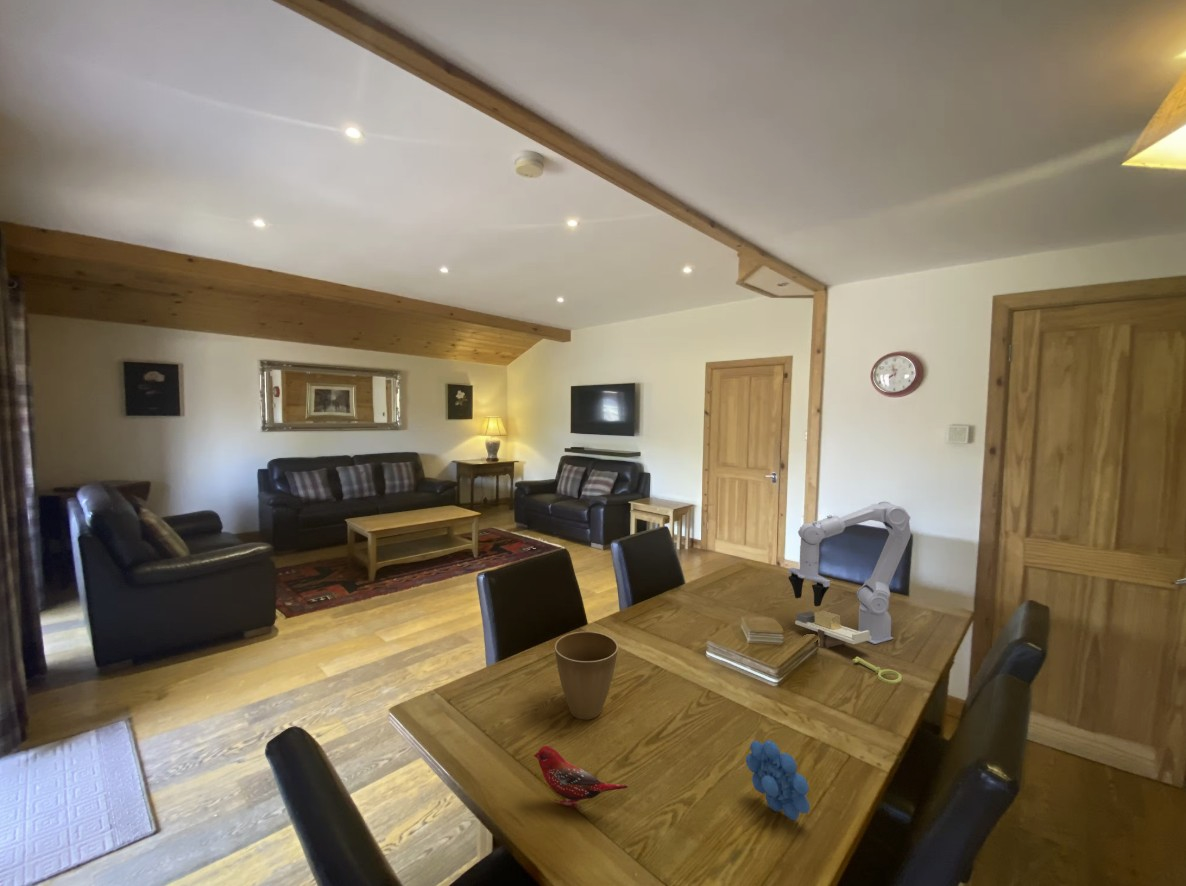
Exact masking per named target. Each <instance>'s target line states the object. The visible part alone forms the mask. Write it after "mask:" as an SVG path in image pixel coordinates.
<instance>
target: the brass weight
mask: <svg viewBox="0 0 1186 886" xmlns="http://www.w3.org/2000/svg"><path fill="white" fill-rule="evenodd" d="M814 614H815V624H816V625H819V626H822V627H825V628H828V629H831V630H837V629H841V625H840V624H841V615H839V614H836V613H833V612H829V611H826V610H819V611H815V612H814Z"/></svg>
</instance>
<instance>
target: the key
mask: <svg viewBox="0 0 1186 886" xmlns="http://www.w3.org/2000/svg"><path fill="white" fill-rule="evenodd" d="M852 662H854V663H860V664H862V665H863V666H865V667H866V668H869V669H870V670H872V671H874V672H875V674H877V676H876V677H877V679H878V680H879V681H881V682H882V683H884V684H885V683H886V684H898V682H899V683H900V681H901V682H902V679H903V677H902V674H901V673H899V672H898V671H896V670H893V669H890V668H889V669H887V668H886V669H881V667H880V666H877V667H876V666H875V665H874V664H871V663H870V662H868V661H866V660H864V659H863V658H861V657H859V656H856V657H855V658H853V659H852ZM884 674H885V675H894V676H896V677H897V678H896V679H886V678H884V677H883V676H884Z"/></svg>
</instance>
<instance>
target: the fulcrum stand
mask: <svg viewBox="0 0 1186 886" xmlns="http://www.w3.org/2000/svg"><path fill="white" fill-rule="evenodd" d="M840 625H841V626H844V627H846V625H844V624H843V623H840ZM817 636H819V638H820V647H821V649H823V648H826V647H827V649H829V648H832V647H836V645H837V646H840V645H843V644H844V643H846V642H845V641H842V640H839V639H837V638H834V637H831V636H828V635H825V634H824V631H823V630H821V629H818V632H817ZM824 646H825V647H824ZM820 647H819V648H820ZM822 647H823V648H822Z"/></svg>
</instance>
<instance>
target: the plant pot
mask: <svg viewBox="0 0 1186 886" xmlns="http://www.w3.org/2000/svg"><path fill="white" fill-rule="evenodd" d="M618 650H619V645H618V643H617V641H616V640H615V639H614V638H613V637H610V636H609V635H607V634H604V633H601V632H597V631H576V632H571V633H568V634H565V635H563V636H561V637H560V638H559V639H558V640H556V642H555V643H554V652H555V658H556V665H557V671H558V676H559V681H560V684H561V685H560V686H561V687H562V691H563V696H564V698H565V701H566V704H567V706H568V709H569V712H570V713H571V715H572V716H573V717H575V718H576V719H580V720H591V719H595V718H596V717H598V716H599V715H600V714H601V713H602V710H603V708H604V705H605V702H606V700H607V697H608V694H609V692H610V689H611V684H612V681H613V678H614V677H613V676H614V672H615V668H616V661H617V656H618Z"/></svg>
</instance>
